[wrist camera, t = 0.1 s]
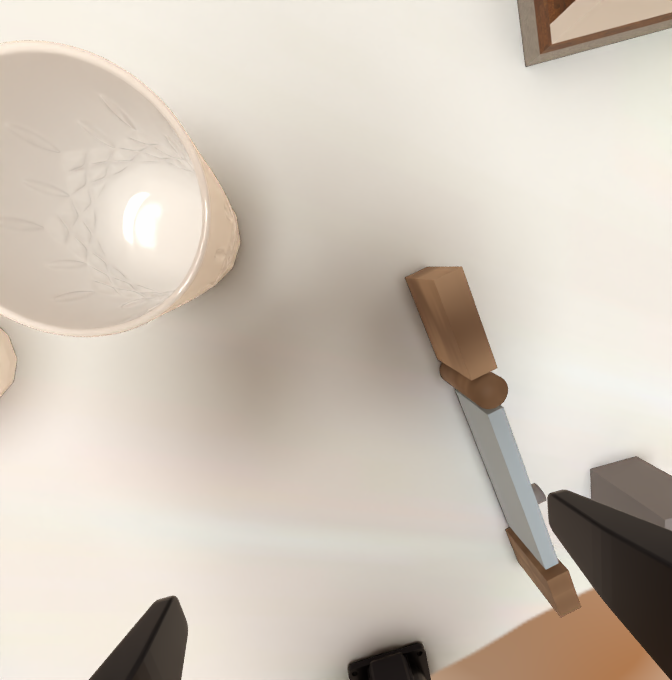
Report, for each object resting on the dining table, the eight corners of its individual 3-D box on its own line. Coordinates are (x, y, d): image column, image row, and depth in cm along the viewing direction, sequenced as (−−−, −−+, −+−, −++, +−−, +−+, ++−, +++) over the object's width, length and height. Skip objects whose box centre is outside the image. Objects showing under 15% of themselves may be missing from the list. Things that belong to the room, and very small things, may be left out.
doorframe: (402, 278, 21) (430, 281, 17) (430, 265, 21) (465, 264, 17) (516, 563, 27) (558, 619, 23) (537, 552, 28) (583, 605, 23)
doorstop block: (635, 498, 28) (717, 553, 22) (591, 511, 27) (663, 570, 22) (635, 456, 27) (721, 503, 21) (589, 468, 26) (664, 519, 21)
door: (455, 390, 23) (487, 414, 19) (483, 376, 23) (521, 398, 19) (508, 525, 26) (545, 569, 22) (533, 512, 26) (574, 555, 22)
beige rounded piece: (256, 173, 19) (218, 75, 9) (245, 310, 21) (202, 349, 11) (105, 147, 18) (-118, 4, 8) (105, 294, 19) (-82, 322, 10)
